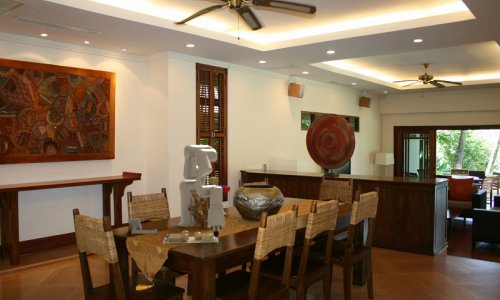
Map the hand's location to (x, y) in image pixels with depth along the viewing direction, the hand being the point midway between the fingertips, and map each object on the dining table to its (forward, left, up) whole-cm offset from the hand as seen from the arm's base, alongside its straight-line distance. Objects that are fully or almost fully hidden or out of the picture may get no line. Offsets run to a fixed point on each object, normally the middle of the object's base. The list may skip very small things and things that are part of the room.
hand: (216, 237), depth 254 cm
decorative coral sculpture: (-43, -7, -2) cm, 43 cm away
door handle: (-24, -46, -2) cm, 52 cm away
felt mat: (0, -15, -2) cm, 15 cm away
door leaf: (0, -6, -1) cm, 7 cm away
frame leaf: (0, -23, -1) cm, 23 cm away
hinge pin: (0, -30, -1) cm, 30 cm away
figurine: (-85, +2, -2) cm, 85 cm away
